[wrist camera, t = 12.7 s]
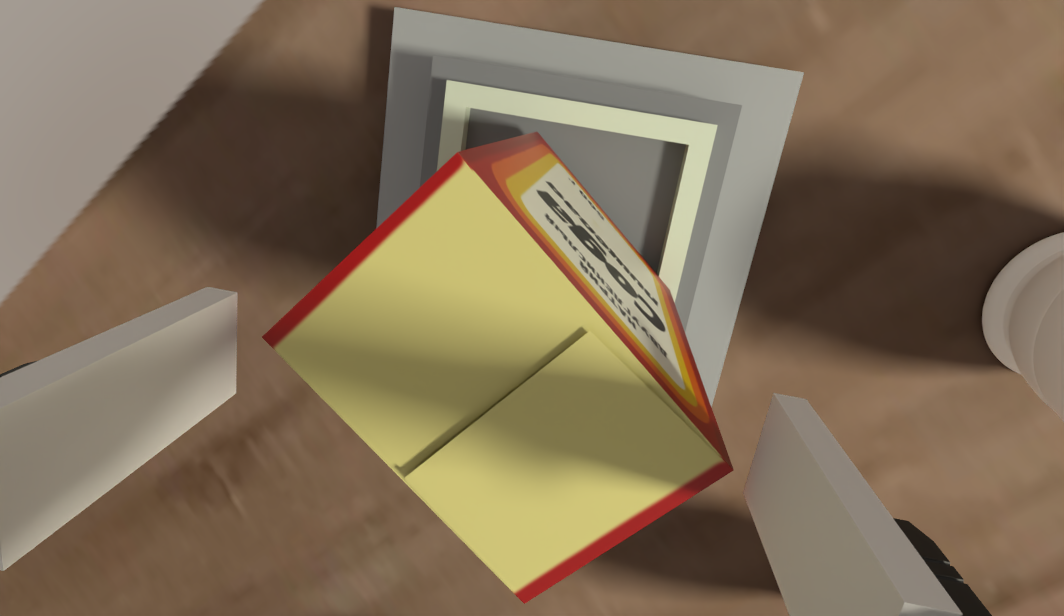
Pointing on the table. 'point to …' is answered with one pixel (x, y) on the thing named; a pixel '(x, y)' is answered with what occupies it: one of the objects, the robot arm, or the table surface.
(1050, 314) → the jar
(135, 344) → the robot arm
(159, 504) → the table surface
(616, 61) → the plinth
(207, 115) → the table surface
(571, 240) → the baking soda box
